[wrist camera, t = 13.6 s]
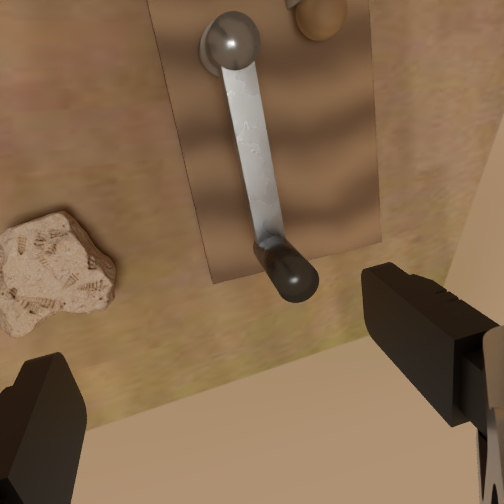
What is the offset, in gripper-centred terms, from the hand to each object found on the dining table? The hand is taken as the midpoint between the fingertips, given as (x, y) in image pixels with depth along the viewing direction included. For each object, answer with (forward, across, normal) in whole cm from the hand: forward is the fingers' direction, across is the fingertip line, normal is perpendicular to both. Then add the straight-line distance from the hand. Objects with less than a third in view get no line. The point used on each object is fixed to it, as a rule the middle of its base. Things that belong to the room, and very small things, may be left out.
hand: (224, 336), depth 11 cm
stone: (+28, +12, +7) cm, 32 cm away
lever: (+23, -6, 0) cm, 24 cm away
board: (+28, -10, -1) cm, 30 cm away
